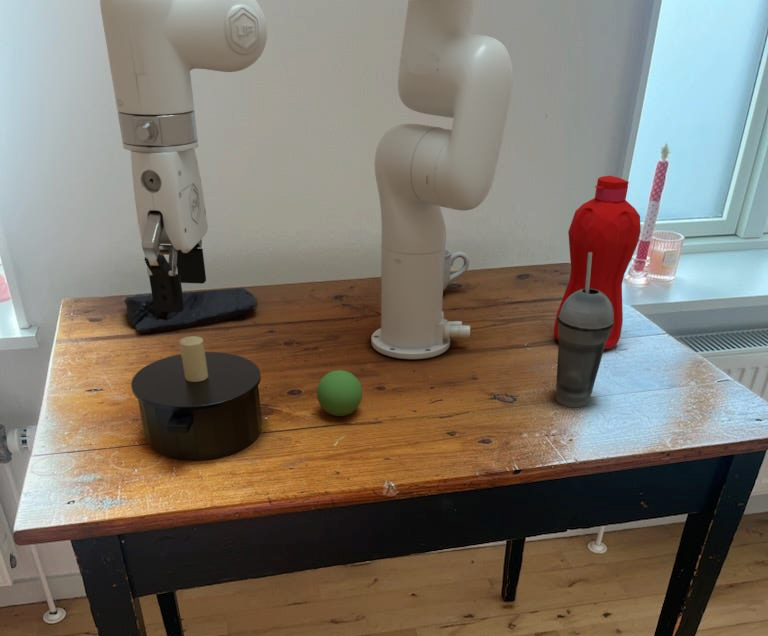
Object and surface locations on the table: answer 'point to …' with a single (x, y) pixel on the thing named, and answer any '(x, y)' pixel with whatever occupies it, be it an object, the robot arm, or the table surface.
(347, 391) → the ball
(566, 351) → the beverage cup
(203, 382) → the lid
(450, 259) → the teacup
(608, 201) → the water bottle
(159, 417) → the pan
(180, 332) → the table surface
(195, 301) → the dark slate chunk
